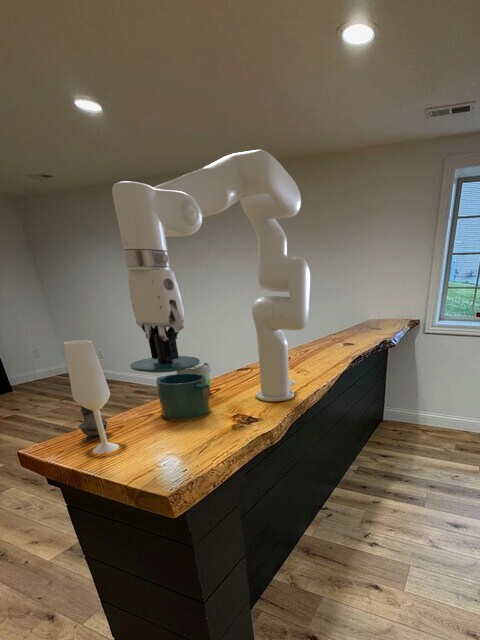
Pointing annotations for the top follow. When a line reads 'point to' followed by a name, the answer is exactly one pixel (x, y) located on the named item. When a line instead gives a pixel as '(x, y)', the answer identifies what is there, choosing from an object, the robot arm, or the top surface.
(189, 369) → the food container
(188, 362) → the lid
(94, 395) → the champagne flute
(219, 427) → the top surface
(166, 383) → the pot
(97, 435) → the grey lumpy figure
